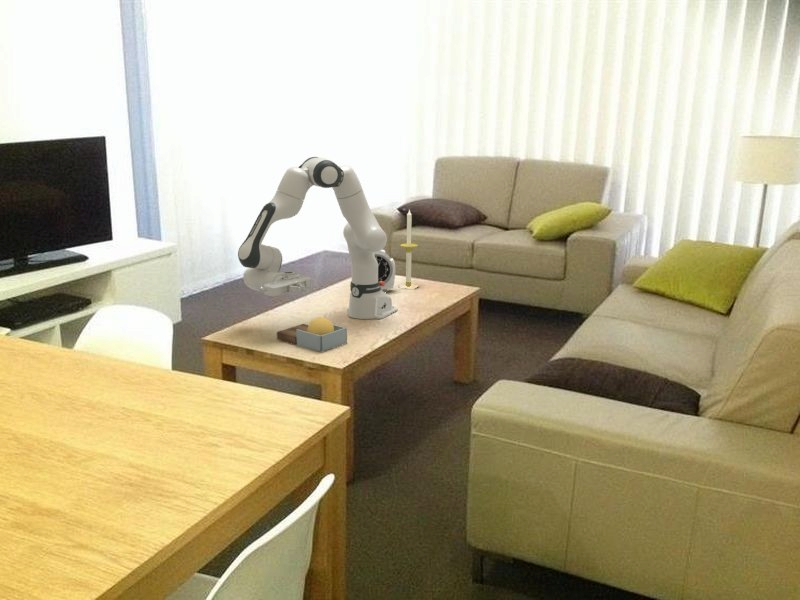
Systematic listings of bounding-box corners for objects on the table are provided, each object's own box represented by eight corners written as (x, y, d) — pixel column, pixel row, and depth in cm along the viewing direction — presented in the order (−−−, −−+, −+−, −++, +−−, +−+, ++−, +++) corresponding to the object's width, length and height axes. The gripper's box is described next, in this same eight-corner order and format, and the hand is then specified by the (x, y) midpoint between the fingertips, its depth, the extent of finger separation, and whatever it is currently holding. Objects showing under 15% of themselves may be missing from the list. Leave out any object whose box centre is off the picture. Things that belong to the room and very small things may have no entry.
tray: (322, 336, 308) (322, 321, 306) (346, 343, 300) (346, 327, 299) (296, 345, 298) (296, 329, 296) (321, 352, 290) (321, 336, 288)
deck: (303, 331, 314) (303, 323, 313) (322, 336, 308) (321, 328, 307) (276, 339, 304) (276, 332, 303) (295, 345, 298) (295, 337, 297)
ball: (338, 315, 296) (341, 342, 296) (322, 317, 304) (324, 344, 303) (316, 317, 289) (318, 345, 289) (300, 319, 297) (303, 346, 297)
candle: (421, 288, 381) (423, 210, 372) (401, 289, 379) (402, 210, 369) (415, 283, 391) (416, 206, 381) (395, 284, 388) (396, 207, 378)
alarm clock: (356, 293, 371) (355, 250, 366) (356, 289, 380) (356, 246, 374) (395, 293, 371) (395, 250, 366) (395, 289, 380) (395, 247, 374)
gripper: (255, 280, 299) (281, 286, 291) (295, 270, 315) (321, 276, 307) (256, 297, 301) (282, 303, 293) (296, 286, 317) (321, 292, 308)
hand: (302, 289), depth 300 cm, fingers closed
